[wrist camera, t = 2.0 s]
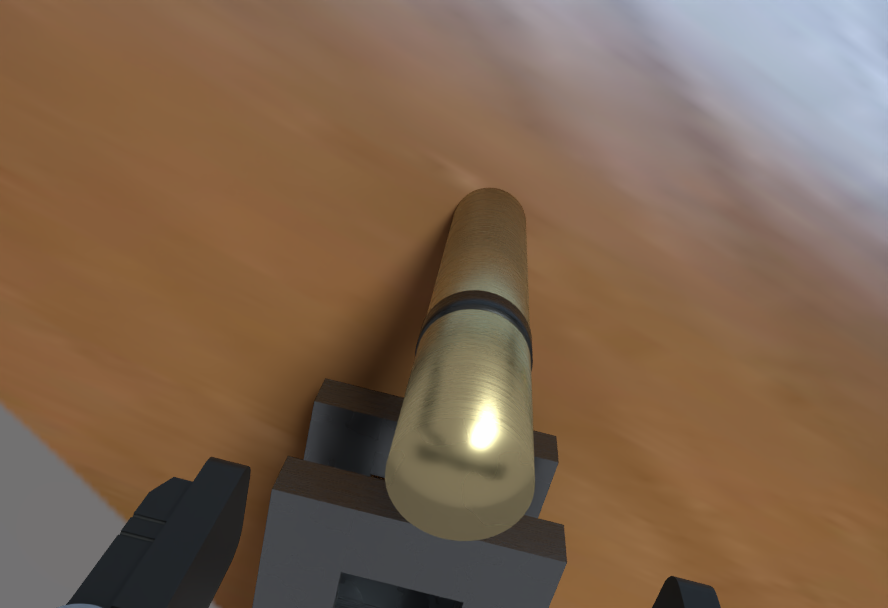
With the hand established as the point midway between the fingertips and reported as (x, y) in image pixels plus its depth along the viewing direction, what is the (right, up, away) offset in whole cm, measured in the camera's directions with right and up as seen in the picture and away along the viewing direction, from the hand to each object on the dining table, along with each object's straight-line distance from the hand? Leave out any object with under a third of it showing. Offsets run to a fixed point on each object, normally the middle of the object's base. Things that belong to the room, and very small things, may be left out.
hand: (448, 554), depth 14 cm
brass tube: (+2, +8, +18) cm, 20 cm away
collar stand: (-1, -4, +24) cm, 24 cm away
